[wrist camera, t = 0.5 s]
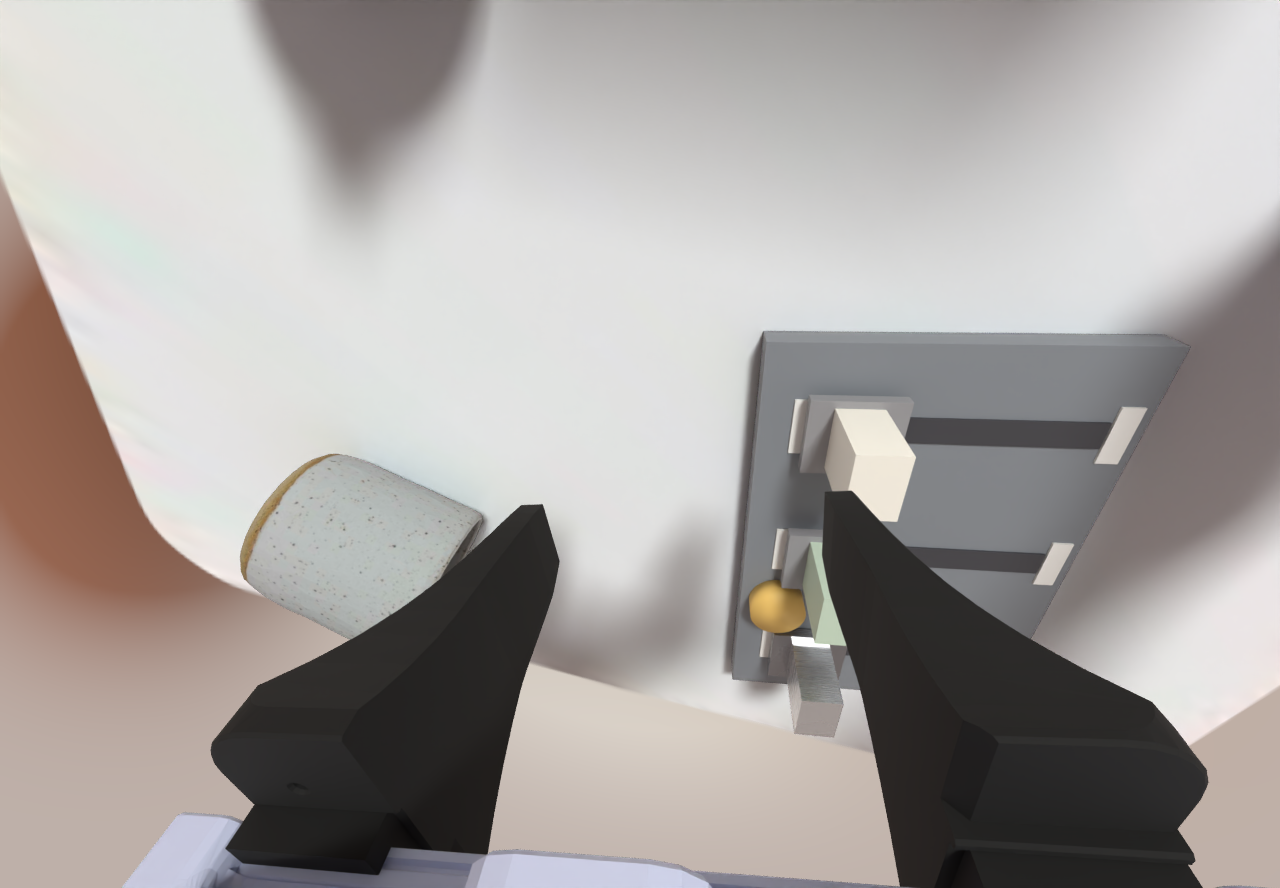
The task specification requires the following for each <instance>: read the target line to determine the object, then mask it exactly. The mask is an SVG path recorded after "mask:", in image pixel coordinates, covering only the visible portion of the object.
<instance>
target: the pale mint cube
mask: <svg viewBox="0 0 1280 888" xmlns="http://www.w3.org/2000/svg"><path fill="white" fill-rule="evenodd" d="M822 541H823V530H818V529H798V528H788V534H787V540H786V547H785V553H784V560H783V566H782V572H781V579H780V581H781V588H788V589H803V590H804V595H805V600H806V605H807V610H808V615H809V620H810V625H811V629H812V634H813V639H814V644H827V645H840V646H846V643H845V640H844V637H843V634H842V631H841V628H840V625H839V622H838V618H837V615H836V612H835V609H834V606H833V603H832V600H831V597H830V593H829V589H828V584H827V579H826V574H825V569H824V564H823V558H822Z"/></svg>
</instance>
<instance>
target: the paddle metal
mask: <svg viewBox="0 0 1280 888" xmlns="http://www.w3.org/2000/svg"><path fill="white" fill-rule="evenodd" d="M846 651H847V646H840V645H827V644H814V639H813V634H812V630H808V629H794V630H792V631H789V632H784V633H772V637H771V644H770V650H769V657H768V663H767V672H768V675H771V676H783V677H787V684H788V692H789V699H790V706H791V713H792V720H793V727H794V734H803V735H814V736H825V737H834V735H835V732H836V728H837V725H838V722H839V718H840V715H841V711H842V708H843V705H844V704H843V700H842V696H841V691H840V687H839V683H838V680H839V676H840V673H841V669H842V665H843V662H844V658H845V654H846Z"/></svg>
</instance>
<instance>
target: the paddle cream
mask: <svg viewBox="0 0 1280 888" xmlns="http://www.w3.org/2000/svg"><path fill="white" fill-rule="evenodd" d="M913 406H914V402H913V401H912V399H911V398H910V397H892V396H847V395H809V398H808V404H807V410H806V417H805V423H804V430H803V436H802V443H801V449H800V456H799V462H798V468H799V471H800V473H824V474H827V477H828V480H829V483H830V486H831V489H832V491H853V492H854V493H855V494H856V495H857V496H858V497H859V499H860V500H861V501H862V502H863V503H864V504H865V505H866V506H867V507H868V508H869V510H870V511H871V512H872V513H873V514H874V515H875V516H876V517H877V518H878V519H879V520H880V521H890V522H897V521H898V517H899V514H900V510H901V507H902V503H903V500H904V497H905V493H906V490H907V486H908V483H909V480H910V476H911V473H912V469H913V466H914V463H915V459H916V456H915V455H914V453H913V451H912V450H911V448H910V447H909V445H908V444H907V442H906V440H905V435H906V432H907V428H908V424H909V421H910V417H911V413H912V410H913Z"/></svg>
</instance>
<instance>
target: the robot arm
mask: <svg viewBox="0 0 1280 888" xmlns="http://www.w3.org/2000/svg"><path fill="white" fill-rule="evenodd" d="M822 558H823V564H824V569H825V574H826V579H827V584H828V589H829V593H830V597H831V600H832V603H833V606H834V609H835V612H836V615H837V618H838V622H839V625H840V628H841V631H842V634H843V637H844V640H845V643H846V646H847V649H848V652H849V655H850V658H851V661H852V664H853V667H854V670H855V673H856V676H857V680H858V684H859V687H860V691H861V694H862V698H863V703H864V707H865V712H866V716H867V721H868V726H869V730H870V735H871V739H872V744H873V749H874V754H875V758H876V763H877V768H878V773H879V777H880V782H881V787H882V793H883V798H884V803H885V808H886V813H887V818H888V823H889V828H890V833H891V839H892V845H893V850H894V856H895V861H896V867H897V872H898V878H899V883H900V887H898V886H884V885H872V884H859V883H845V882H833V881H820V880H807V879H806V880H805V879H794V878H780V877H768V876H755V875H742V874H728V873H716V872H703V871H692V870H690V869H687V868H685V867H683V866H681V865H678V864H672V863H667V862H661V861H656V860H651V859H639V858H626V857H613V856H599V855H585V854H571V853H559V852H545V851H532V850H518V849H516V850H499V851H492V852H490V853H489V854H488V848H489V842H490V836H491V830H492V824H493V818H494V812H495V806H496V801H497V796H498V790H499V785H500V780H501V774H502V769H503V764H504V760H505V755H506V750H507V745H508V741H509V737H510V732H511V727H512V723H513V719H514V715H515V711H516V706H517V702H518V698H519V694H520V690H521V687H522V683H523V680H524V677H525V674H526V670H527V667H528V665H529V662H530V659H531V656H532V654H533V651H534V648H535V645H536V642H537V639H538V637H539V634H540V631H541V628H542V625H543V623H544V620H545V617H546V614H547V611H548V608H549V605H550V602H551V599H552V596H553V592H554V587H555V583H556V578H557V572H558V567H559V562H560V561H559V558H558V554H557V551H556V548H555V544H554V541H553V537H552V534H551V531H550V527H549V524H548V521H547V517H546V514H545V510H544V507H543V504H539V505H521V506H520V507H519V508H518V509H516V510H515V511H514V512H513V513H512V514H511V515H510V516H509V517H508V518H507V519H505V520H504V521H503V522H502V523H501V524H500V525H499V526H498V527H497V528H496V529H495V530H494V531H493V532H492V533H491V534H490V535H489V536H488V537H487V538H485V539H484V540H483V541H482V542H481V543H480V544H479V545H478V546H477V547H476V548H475V549H474V550H473V551H472V552H470V553H469V554H468V555H467V556H466V557H465V558H464V559H462V560H461V561H460V562H459V563H458V564H457V565H455V566H454V567H453V568H452V569H451V570H450V571H448V572H447V573H446V574H445V575H444V576H443V577H441V578H440V579H439V580H438V581H437V582H435V583H434V584H433V585H432V586H430V587H429V588H428V589H426V590H425V591H424V592H423V593H421V594H420V595H418V596H417V597H416V598H414V599H413V600H412V601H410V602H409V603H407V604H406V605H405V606H403V607H402V608H400V609H399V610H397V611H396V612H394V613H393V614H391V615H390V616H388V617H386V618H385V619H383V620H382V621H380V622H379V623H377V624H375V625H374V626H372V627H371V628H369V629H368V630H366V631H364V632H363V633H361V634H359V635H358V636H356V637H354V638H352V639H351V640H349V641H347V642H345V643H344V644H342V645H340V646H338V647H336V648H334V649H333V650H331V651H329V652H327V653H325V654H323V655H321V656H319V657H318V658H316V659H314V660H312V661H310V662H308V663H305V664H303V665H301V666H299V667H297V668H295V669H293V670H291V671H288V672H286V673H284V674H282V675H280V676H278V677H276V678H274V679H271V680H269V681H267V682H265V683H263V684H260V685H258V686H257V687H256V689H255V690H254V691H253V692H252V694H251V695H250V696H249V697H248V699H247V700H246V701H245V702H244V703H243V705H242V706H241V707H240V708H239V710H238V711H237V712H236V713H235V715H234V716H233V717H232V718H231V720H230V721H229V722H228V723H227V725H226V726H225V727H224V728H223V730H222V731H221V732H220V733H219V735H218V736H217V737H216V738H215V739H214V741H213V742H212V746H211V755H212V758H213V761H214V763H215V765H216V766H217V767H218V769H219V770H220V771H221V772H222V773H223V774H224V775H225V776H226V777H227V778H228V779H229V780H230V781H231V782H232V783H233V784H234V785H235V786H236V787H237V788H238V789H239V790H240V791H241V792H242V793H243V794H244V795H245V796H246V797H247V798H248V799H249V800H250V801H251V802H252V803H253V804H255V805H254V806H253V808H252V809H251V811H250V812H249V814H248V815H247V817H246V818H245V820H244V821H241V820H239V819H237V818H234V817H231V816H226V815H215V814H202V813H187V812H184V813H181V814H178V815H177V817H176V818H175V819H174V821H173V822H172V823H171V824H170V826H169V827H168V828H167V830H166V831H165V832H164V833H163V835H162V836H161V838H160V839H159V840H158V841H157V843H156V844H155V845H154V846H153V848H152V849H151V850H150V852H149V853H148V854H147V855H146V857H145V858H144V859H143V861H142V862H141V863H140V865H139V866H138V867H137V868H136V870H135V871H134V872H133V874H132V875H131V876H130V877H129V879H128V880H127V881H126V883H125V884H124V885H123V886H122V888H1203V887H1202V886H1201V884H1200V883H1199V881H1198V880H1197V878H1196V877H1195V875H1194V874H1193V872H1192V870H1191V869H1190V867H1189V866H1188V865H1192V864H1193V863H1194V862H1195V858H1194V853H1193V852H1192V851H1191V849H1190V847H1189V846H1188V844H1187V843H1186V841H1185V840H1184V838H1183V837H1182V835H1181V834H1180V832H1179V831H1178V828H1179V826H1180V825H1181V824H1182V823H1183V821H1184V820H1185V819H1186V818H1187V816H1188V815H1189V814H1190V813H1191V811H1192V810H1193V809H1194V808H1195V806H1196V805H1197V804H1198V803H1199V801H1200V800H1201V798H1202V796H1203V794H1204V792H1205V790H1206V788H1207V785H1208V776H1207V770H1206V768H1205V767H1204V766H1203V764H1202V763H1201V762H1200V761H1199V759H1198V758H1197V757H1196V755H1195V754H1194V753H1193V752H1192V750H1191V749H1190V748H1189V746H1188V745H1187V743H1186V742H1185V741H1184V739H1183V738H1182V737H1181V735H1180V734H1179V733H1178V732H1177V730H1176V729H1175V728H1174V727H1173V725H1172V724H1171V723H1170V722H1169V721H1168V720H1167V719H1166V717H1165V716H1164V715H1163V714H1162V713H1161V712H1160V711H1159V710H1158V708H1157V707H1156V706H1155V705H1154V704H1153V703H1152V702H1151V701H1149V700H1147V699H1145V698H1143V697H1141V696H1139V695H1136V694H1134V693H1132V692H1130V691H1128V690H1126V689H1124V688H1122V687H1120V686H1118V685H1116V684H1114V683H1112V682H1110V681H1108V680H1105V679H1103V678H1101V677H1099V676H1097V675H1095V674H1093V673H1091V672H1089V671H1087V670H1085V669H1083V668H1081V667H1079V666H1077V665H1076V664H1074V663H1072V662H1070V661H1068V660H1066V659H1065V658H1063V657H1061V656H1059V655H1057V654H1055V653H1054V652H1052V651H1050V650H1048V649H1046V648H1045V647H1043V646H1041V645H1039V644H1038V643H1036V642H1034V641H1033V640H1031V639H1029V638H1028V637H1026V636H1024V635H1022V634H1021V633H1019V632H1018V631H1016V630H1015V629H1013V628H1011V627H1010V626H1008V625H1007V624H1005V623H1004V622H1002V621H1000V620H999V619H997V618H996V617H994V616H993V615H991V614H990V613H988V612H987V611H985V610H984V609H982V608H981V607H979V606H978V605H976V604H975V603H974V602H972V601H971V600H970V599H968V598H967V597H965V596H964V595H963V594H961V593H960V592H959V591H957V590H956V589H955V588H953V587H952V586H951V585H949V584H948V583H947V582H946V581H944V580H943V579H942V578H941V577H939V576H938V575H937V574H936V573H935V572H934V571H932V570H931V569H930V568H929V567H928V566H927V565H925V564H924V563H923V562H922V561H921V560H920V559H919V558H918V557H916V556H915V555H914V554H913V553H912V552H911V551H910V550H909V549H908V548H907V547H906V546H905V545H904V544H903V543H902V542H901V541H900V540H899V539H898V538H896V537H895V536H894V535H893V534H892V533H891V532H890V531H889V530H888V529H887V528H886V527H885V526H884V524H883V523H882V522H881V521H880V520H879V519H878V518H877V517H876V516H875V515H874V514H873V513H872V512H871V511H870V510H869V508H868V507H867V506H866V505H865V504H864V503H863V502H862V501H861V500H860V499H859V497H858V496H857V495H856V494H855V493H854V492H853V491H829V492H825V499H824V520H823V541H822ZM1217 888H1263V887H1250V886H1222V887H1217Z"/></svg>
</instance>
